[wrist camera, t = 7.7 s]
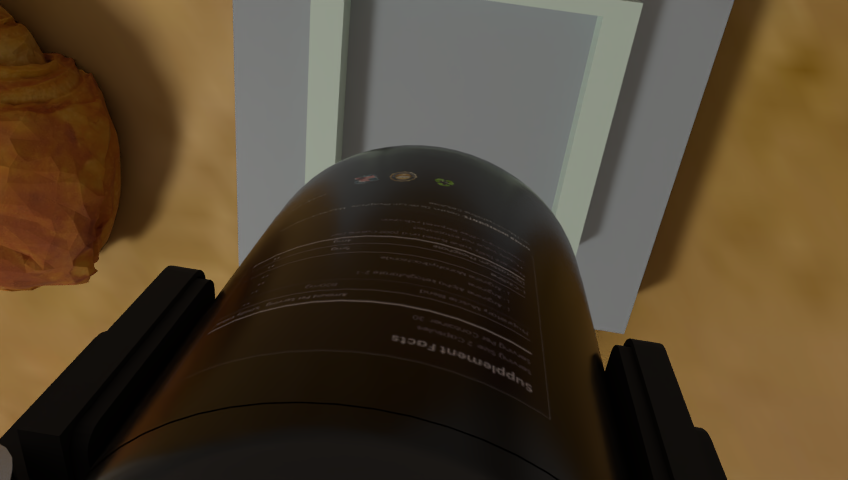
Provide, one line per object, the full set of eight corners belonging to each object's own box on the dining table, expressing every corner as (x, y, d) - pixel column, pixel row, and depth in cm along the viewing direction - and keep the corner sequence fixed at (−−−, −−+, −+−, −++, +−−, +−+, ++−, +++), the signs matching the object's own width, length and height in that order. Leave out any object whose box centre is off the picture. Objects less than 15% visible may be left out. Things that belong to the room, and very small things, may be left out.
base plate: (745, -113, 23) (786, -116, 19) (615, 303, 31) (628, 349, 28) (253, -177, 23) (214, -191, 20) (257, 247, 32) (229, 286, 29)
